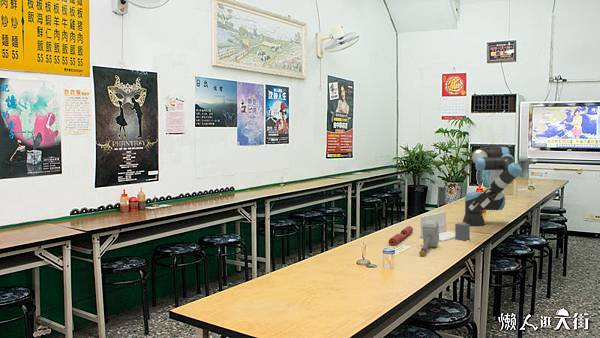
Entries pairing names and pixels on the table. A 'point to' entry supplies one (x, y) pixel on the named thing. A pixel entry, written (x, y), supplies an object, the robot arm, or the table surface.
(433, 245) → the grey angled piece
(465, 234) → the block
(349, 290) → the table surface
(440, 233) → the rail panel
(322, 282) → the table surface
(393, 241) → the blood vessel
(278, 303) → the table surface
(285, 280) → the table surface
